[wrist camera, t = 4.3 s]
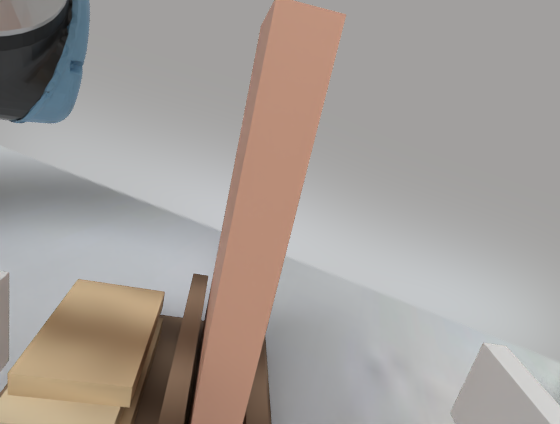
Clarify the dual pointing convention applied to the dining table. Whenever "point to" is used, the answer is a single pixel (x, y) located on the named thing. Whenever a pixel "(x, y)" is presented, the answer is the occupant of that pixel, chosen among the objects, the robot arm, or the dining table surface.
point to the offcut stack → (87, 358)
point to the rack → (189, 369)
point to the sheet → (263, 201)
